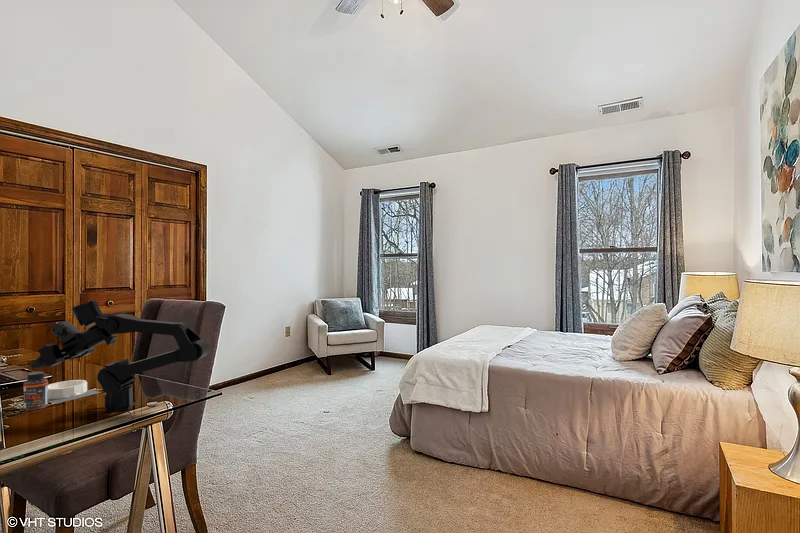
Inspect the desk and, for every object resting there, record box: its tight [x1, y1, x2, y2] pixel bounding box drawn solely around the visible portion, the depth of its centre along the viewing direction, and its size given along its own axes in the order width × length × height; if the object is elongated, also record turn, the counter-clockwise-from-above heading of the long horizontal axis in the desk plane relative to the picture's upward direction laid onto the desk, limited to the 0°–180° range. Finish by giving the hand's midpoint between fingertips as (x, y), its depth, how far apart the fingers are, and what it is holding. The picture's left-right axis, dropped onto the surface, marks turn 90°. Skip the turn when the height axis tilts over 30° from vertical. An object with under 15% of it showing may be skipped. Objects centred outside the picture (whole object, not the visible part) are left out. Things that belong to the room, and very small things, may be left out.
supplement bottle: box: [23, 371, 49, 412], centre depth 137 cm, size 6×6×11 cm
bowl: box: [48, 379, 88, 400], centre depth 151 cm, size 12×12×4 cm
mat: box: [48, 388, 102, 405], centre depth 151 cm, size 18×14×1 cm
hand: (42, 363), depth 134 cm, fingers open, 9 cm apart
